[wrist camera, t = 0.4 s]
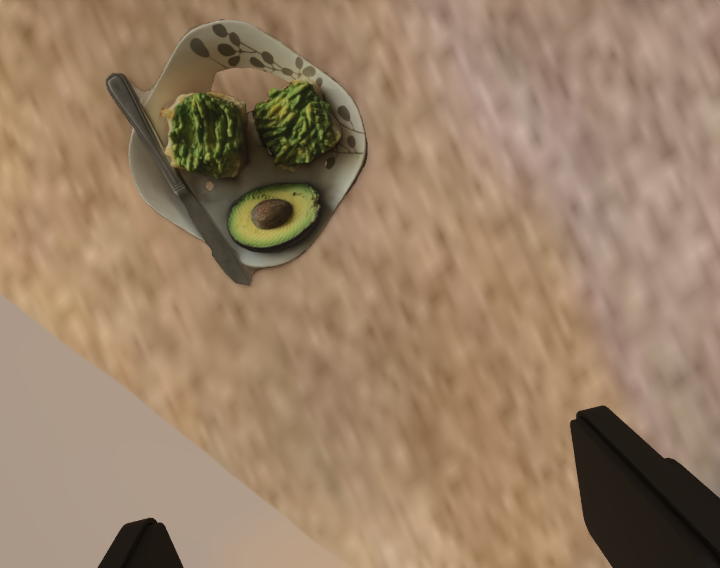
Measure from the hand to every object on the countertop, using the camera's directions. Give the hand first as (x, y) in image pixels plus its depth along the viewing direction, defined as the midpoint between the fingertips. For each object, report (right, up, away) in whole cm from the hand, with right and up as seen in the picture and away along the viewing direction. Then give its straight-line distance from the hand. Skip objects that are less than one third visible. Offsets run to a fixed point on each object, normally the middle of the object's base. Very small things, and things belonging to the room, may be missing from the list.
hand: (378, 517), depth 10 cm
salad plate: (-9, +15, +27) cm, 33 cm away
